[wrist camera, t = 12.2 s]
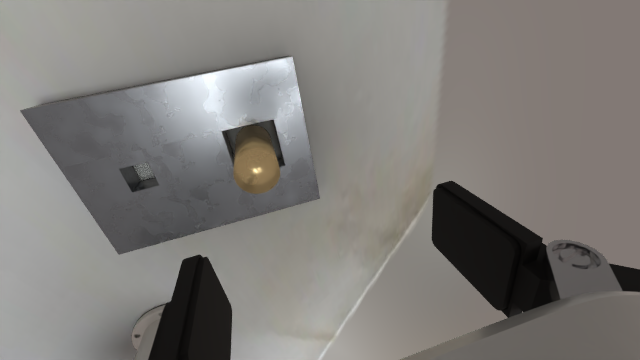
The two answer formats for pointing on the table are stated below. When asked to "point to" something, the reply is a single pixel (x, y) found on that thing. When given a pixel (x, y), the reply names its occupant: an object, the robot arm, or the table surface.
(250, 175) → the tan cylinder
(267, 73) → the plate
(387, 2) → the table surface
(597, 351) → the robot arm
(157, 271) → the table surface
